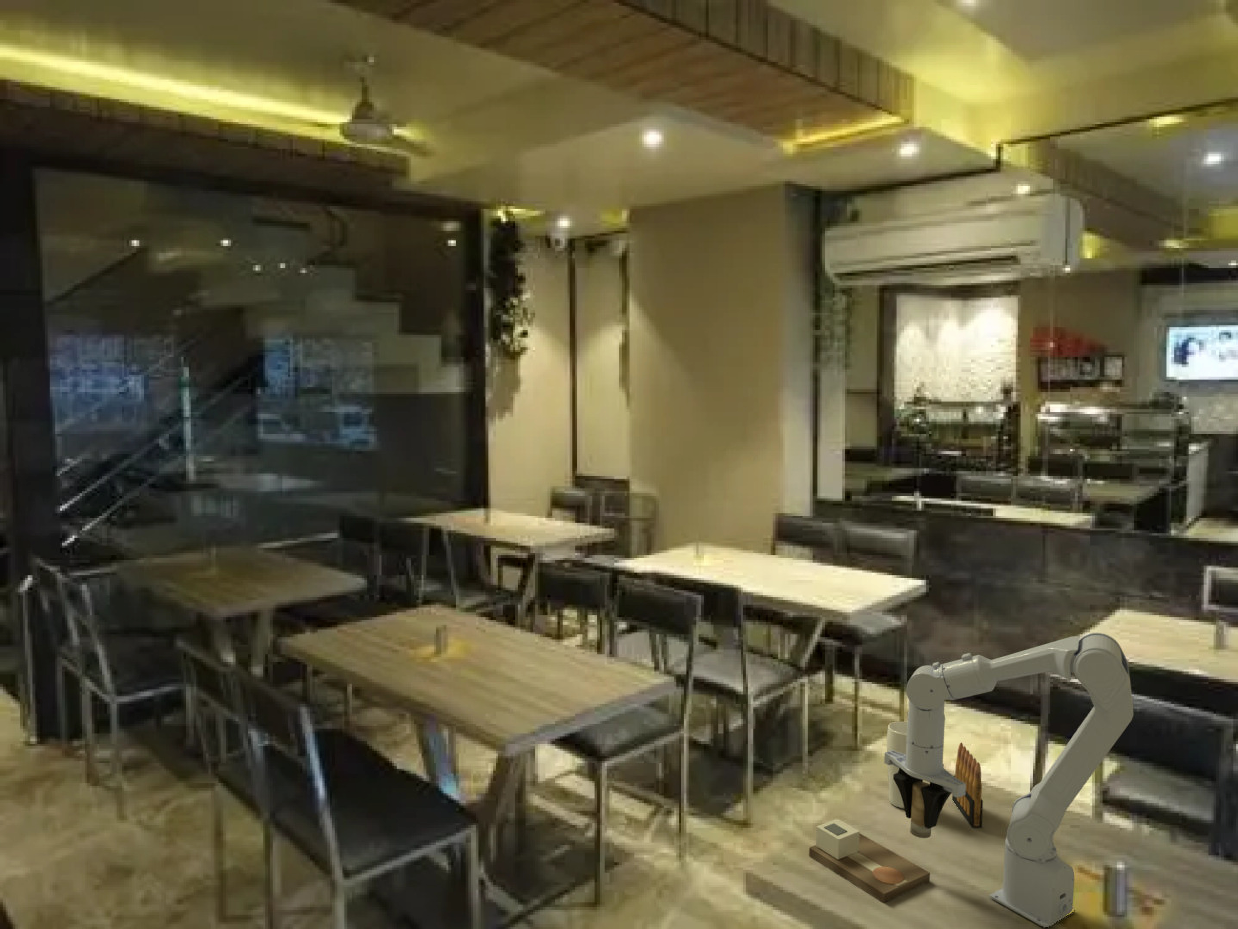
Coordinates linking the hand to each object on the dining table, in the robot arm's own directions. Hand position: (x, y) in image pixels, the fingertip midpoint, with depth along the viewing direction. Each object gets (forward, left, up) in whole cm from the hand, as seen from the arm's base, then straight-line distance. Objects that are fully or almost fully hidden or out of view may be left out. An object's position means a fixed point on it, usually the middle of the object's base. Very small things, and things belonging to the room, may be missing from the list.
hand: (921, 821), depth 144 cm
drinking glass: (+18, -18, -9) cm, 27 cm away
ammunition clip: (+9, -25, -9) cm, 28 cm away
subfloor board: (+6, +6, -9) cm, 12 cm away
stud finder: (+11, +8, -7) cm, 15 cm away
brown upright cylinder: (0, 0, -2) cm, 2 cm away
